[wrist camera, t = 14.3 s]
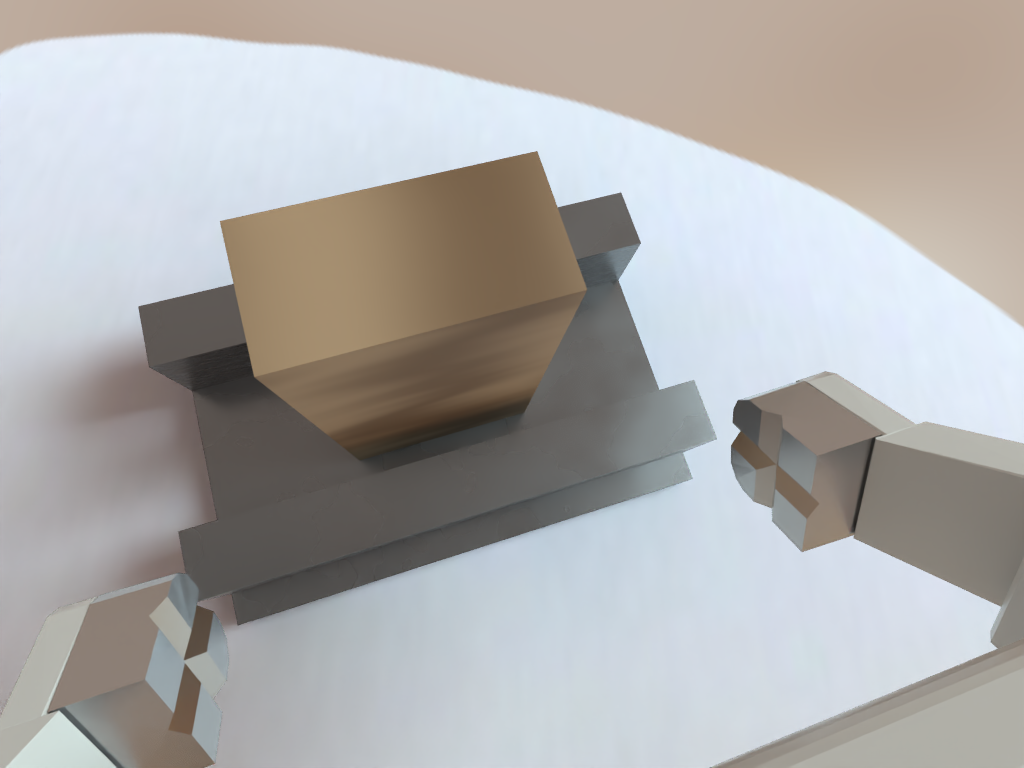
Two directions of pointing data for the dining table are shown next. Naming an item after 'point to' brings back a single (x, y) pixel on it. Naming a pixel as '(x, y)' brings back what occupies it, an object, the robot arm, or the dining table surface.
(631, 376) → the door track
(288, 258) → the wooden block
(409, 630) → the dining table surface
